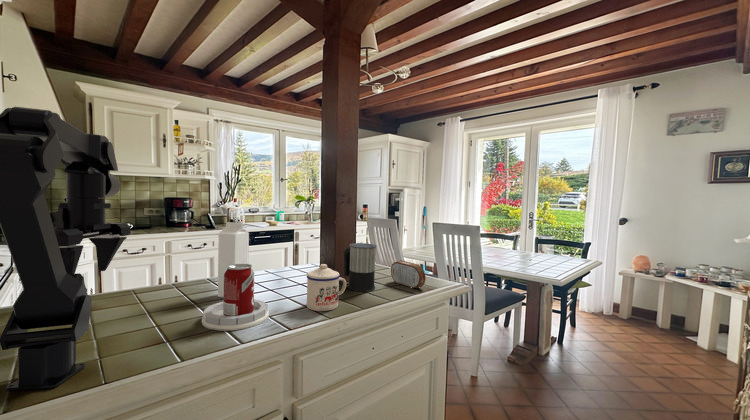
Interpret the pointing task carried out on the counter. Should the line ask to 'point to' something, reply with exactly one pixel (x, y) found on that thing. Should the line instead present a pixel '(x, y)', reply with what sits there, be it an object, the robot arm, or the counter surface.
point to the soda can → (238, 290)
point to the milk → (231, 250)
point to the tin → (408, 274)
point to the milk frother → (360, 266)
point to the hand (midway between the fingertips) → (86, 276)
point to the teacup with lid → (323, 289)
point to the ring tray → (234, 317)
